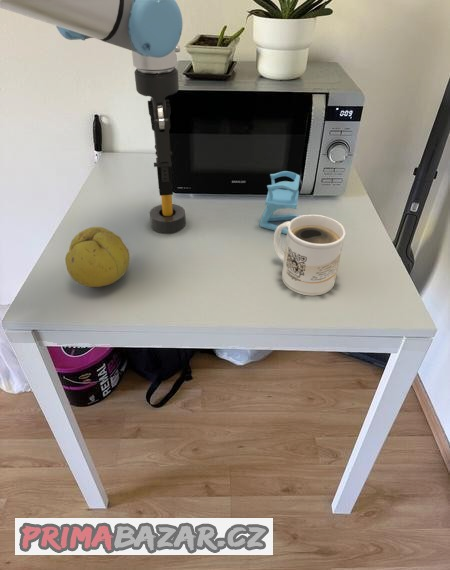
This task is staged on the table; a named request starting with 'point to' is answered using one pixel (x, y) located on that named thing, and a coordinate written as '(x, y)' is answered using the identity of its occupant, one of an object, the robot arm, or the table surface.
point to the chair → (280, 199)
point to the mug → (310, 253)
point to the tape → (167, 220)
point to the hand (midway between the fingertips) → (165, 190)
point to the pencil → (167, 205)
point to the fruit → (97, 257)
